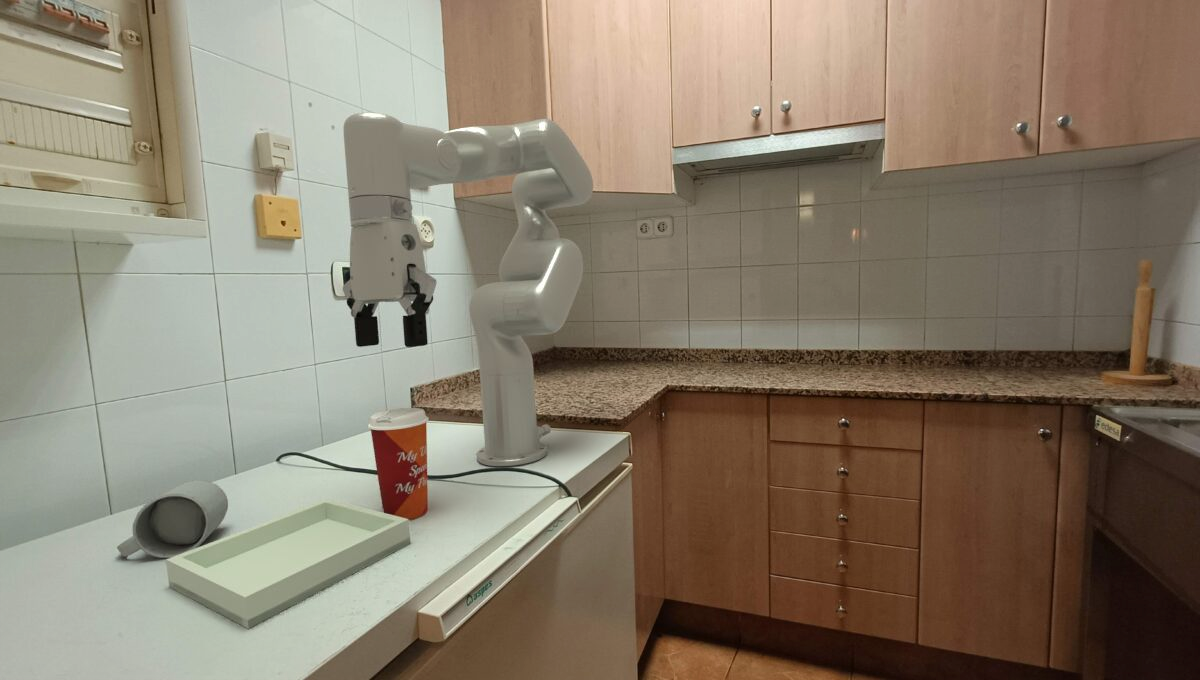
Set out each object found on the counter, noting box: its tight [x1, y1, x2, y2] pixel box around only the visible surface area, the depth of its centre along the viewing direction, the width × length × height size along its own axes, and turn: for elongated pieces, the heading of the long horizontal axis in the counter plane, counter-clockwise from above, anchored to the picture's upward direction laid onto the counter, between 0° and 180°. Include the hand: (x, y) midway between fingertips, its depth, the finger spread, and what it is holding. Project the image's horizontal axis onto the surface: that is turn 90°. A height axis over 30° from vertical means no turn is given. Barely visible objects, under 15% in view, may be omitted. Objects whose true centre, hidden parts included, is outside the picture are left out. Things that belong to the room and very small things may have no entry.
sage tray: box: [165, 498, 412, 630], centre depth 59 cm, size 18×16×3 cm
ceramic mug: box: [116, 480, 229, 559], centre depth 65 cm, size 11×8×8 cm
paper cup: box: [367, 407, 430, 521], centre depth 72 cm, size 8×8×14 cm
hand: (391, 345), depth 70 cm, fingers open, 9 cm apart
